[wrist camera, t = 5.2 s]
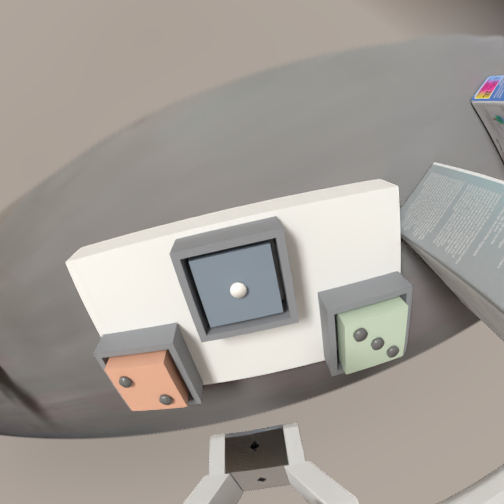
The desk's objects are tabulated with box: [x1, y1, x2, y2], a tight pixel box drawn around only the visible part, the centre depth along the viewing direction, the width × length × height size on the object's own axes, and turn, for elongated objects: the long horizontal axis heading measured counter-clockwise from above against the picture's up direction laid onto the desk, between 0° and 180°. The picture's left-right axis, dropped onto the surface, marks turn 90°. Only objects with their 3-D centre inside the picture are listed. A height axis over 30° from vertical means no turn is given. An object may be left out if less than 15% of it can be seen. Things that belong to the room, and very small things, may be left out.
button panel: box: [65, 179, 413, 409], centre depth 23 cm, size 25×14×6 cm, turn 102°
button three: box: [336, 296, 408, 375], centre depth 21 cm, size 5×5×2 cm
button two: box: [104, 349, 189, 411], centre depth 21 cm, size 5×5×2 cm
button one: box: [189, 240, 283, 327], centre depth 20 cm, size 5×5×2 cm
